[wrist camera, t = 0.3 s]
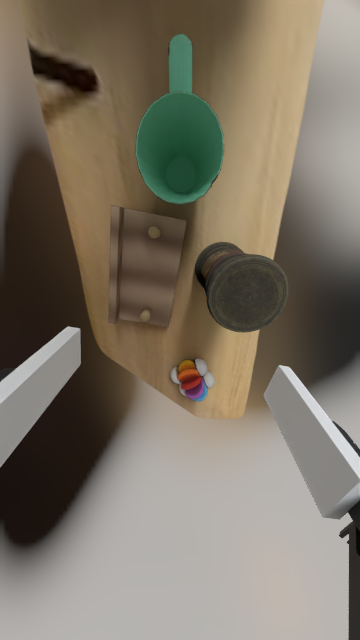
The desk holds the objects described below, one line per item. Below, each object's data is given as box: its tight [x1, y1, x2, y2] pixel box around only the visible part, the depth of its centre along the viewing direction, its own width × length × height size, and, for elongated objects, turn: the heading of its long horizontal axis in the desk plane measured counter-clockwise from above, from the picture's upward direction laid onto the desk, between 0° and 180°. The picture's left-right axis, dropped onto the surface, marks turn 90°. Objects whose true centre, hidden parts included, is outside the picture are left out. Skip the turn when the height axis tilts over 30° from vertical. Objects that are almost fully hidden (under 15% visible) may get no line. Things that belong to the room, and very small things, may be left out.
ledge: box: [108, 205, 187, 327], centre depth 34 cm, size 19×11×6 cm, turn 170°
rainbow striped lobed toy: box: [171, 359, 215, 401], centre depth 44 cm, size 8×10×7 cm
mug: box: [136, 34, 224, 205], centre depth 25 cm, size 15×10×10 cm
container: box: [196, 242, 288, 332], centre depth 28 cm, size 9×9×18 cm
